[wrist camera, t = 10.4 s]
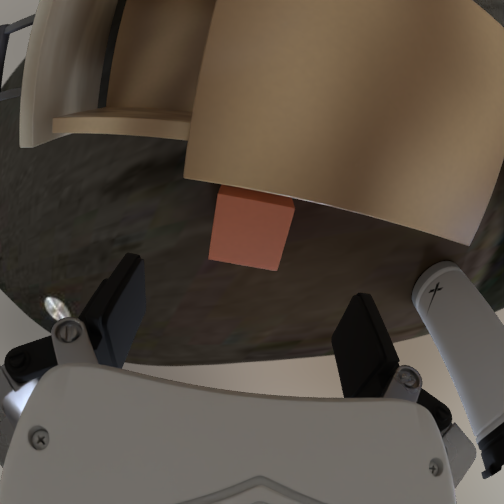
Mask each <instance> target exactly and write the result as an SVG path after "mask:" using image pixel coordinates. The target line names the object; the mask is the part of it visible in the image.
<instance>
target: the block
mask: <svg viewBox="0 0 504 504" xmlns="http://www.w3.org/2000/svg"><path fill="white" fill-rule="evenodd" d="M294 211H295V207H294V203H293V200H292V198H291V197H286V196H281V195H276V194H271V193H266V192H261V191H256V190H251V189H246V188H240V187H235V186H229V185H223V184H221V187H220V189H219V192H218V195H217V202H216V208H215V215H214V222H213V229H212V236H211V243H210V250H209V259H211V260H216V261H222V262H228V263H233V264H239V265H245V266H251V267H256V268H262V269H268V270H274V271H277V269H278V266H279V263H280V259H281V256H282V252H283V249H284V246H285V242H286V239H287V235H288V232H289V228H290V225H291V221H292V218H293V214H294Z"/></svg>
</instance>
